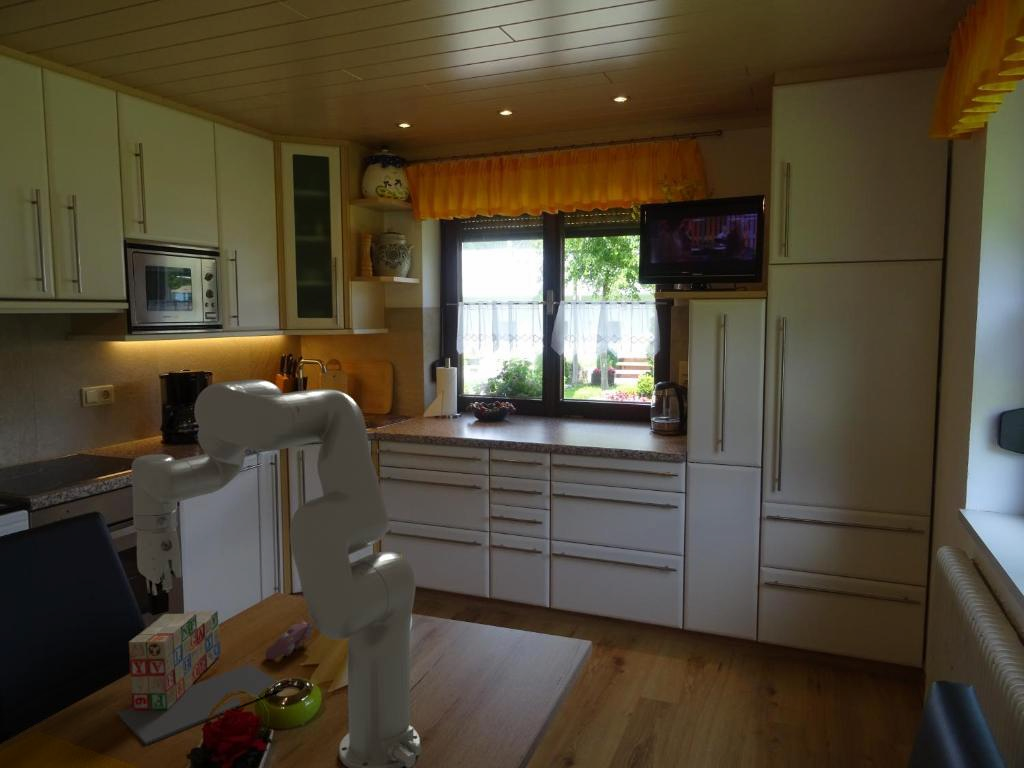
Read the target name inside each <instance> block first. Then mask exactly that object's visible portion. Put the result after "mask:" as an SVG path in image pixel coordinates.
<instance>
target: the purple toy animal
mask: <svg viewBox="0 0 1024 768" xmlns="http://www.w3.org/2000/svg"><path fill="white" fill-rule="evenodd" d="M314 629H315V625H312V624H311V623H310V622H305V620H303V621H302V622H300V623H294V624H293V625H290V626H289V628H288V629H287V630H286V631H285V632H284V633H282V635H281V636H280V637H279V638H278V639H277V640H276V641H275V642H274V643H272V644H271V645H270V646H269V647H268V648H267V649H266V650H265V652H264V655H265V658H266V659H267V660H276V659H278V658H279V657H281V656H283V655H284V656H285V657H289V656H290V655H291V654H292V653H293V652H294V650H299V649H300V648H302V647H303V645H304V642H306V640H307V639H308V638H309V637H310V636H311V635H312V633H313V631H314ZM299 647H300V648H299ZM298 648H299V649H298ZM289 654H290V655H289ZM288 655H289V656H288Z"/></svg>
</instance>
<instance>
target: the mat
mask: <svg viewBox="0 0 1024 768" xmlns="http://www.w3.org/2000/svg"><path fill="white" fill-rule="evenodd" d="M275 683H278V682H277V681H276V680H275V679H273V678H272V677H270V676H269V675H267V674H266V673H264V672H263V671H261V669H258V668H257V667H256V666H255V665H253V664H252V663H249V664H247V665H244V666H241V667H238V668H236V669H233V670H230V671H228V672H225V673H222V674H219V675H217V676H214V677H213V676H212V677H211V678H208V679H205V680H203V681H200V682H198V683H195V684H194V683H193V684H192V685H191V686H190V687H189V688H188V689H187V690H186V691H185V692H184V693H183V695H182V696H181V697H180V698H179V699H178V700H176V701H175V702H174V703H173V704H172V705H171V707H170V708H169V709H167V710H151V709H150V710H133V706H131V707H129V708H127V709H124V710H122V711H118V712H117V716H118V717H119V718H120V719H121V720H122V721H123V722H124V723H125V724H126V726H127V727H128V728H129V729H130V730H131V731H132V732H133V733H134V734H135V735H136V736H137V737H138V738H139V740H140V741H141V742H142V743H143V744H144V743H145V744H144V745H145V746H147V745H150V744H153V743H155V742H157V741H159V740H162V739H165V738H167V737H170V736H173V735H175V734H177V733H179V732H182V731H185V730H186V729H189V728H192V727H194V726H197V725H199V724H202V723H204V722H207V721H208V720H207V719H208V717H209V715H210V712H211V711H212V709H213V708H214V707H215V706H216V705H217V704H218V702H219V701H220V700H221V699H222V698H223V697H224V696H225V695H226V694H228V693H230V692H234V691H239V690H242V691H247V692H249V693H252V694H254V695H260V694H261V692H262V691H264V690H265V689H267V688H268V687H270V686H272V685H273V684H275ZM234 697H235V698H232V699H231V701H229V703H228V702H227V704H225V705H223V707H220V709H219V710H216V711H215V713H214V714H213V716H215V715H217V714H221V713H222V712H224V711H225V710H228V709H234V710H236V709H237V708H236V707H238V706H239V705H240V704H242V703H240V702H239V700H238V701H237V699H238V698H239V699H240V697H241V696H238V697H237V696H234ZM236 698H237V699H236ZM235 700H236V701H235ZM224 709H225V710H224ZM206 720H207V721H206ZM152 742H153V743H152ZM149 743H150V744H149Z"/></svg>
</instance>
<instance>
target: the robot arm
mask: <svg viewBox="0 0 1024 768" xmlns="http://www.w3.org/2000/svg"><path fill="white" fill-rule="evenodd" d="M193 411H194V412H193V413H194V418H195V422H196V424H197V425H198V430H197V441H198V443H199V446H200V447H201V449H202V450H203V452H204V453H205V454H199V455H195V456H188V457H184V458H180V459H175V458H174V457H173V456H171V455H168V454H163V453H161V454H160V453H159V454H157V453H156V454H155V453H154V454H147V455H146V454H145V455H141V456H139V457H137V458H134V460H133V461H132V462H131V484H132V485H131V487H132V510H133V511H132V512H133V514H132V515H133V517H132V518H133V530H134V532H136V534H137V535H136V566H137V569H138V572H139V574H141V575H142V576H144V577H145V578H146V590H147V601H148V602H147V607H148V608H147V609H148V613H149V614H150V615H151V616H157V615H161V614H166V613H167V612H169V611H170V603H169V602H170V601H169V600H170V597H169V592H170V589H173V582H172V577H174V578H175V579H180V578H181V577H182V562H181V560H182V559H181V549H180V542H179V540H180V539H179V536H178V531H177V527H178V525H179V524H178V523H179V522H178V520H179V518H178V502H181V501H185V500H188V499H193V498H196V497H199V496H205V495H208V494H213V493H215V492H217V491H220V490H221V489H222V488H225V486H227V485H228V484H229V483H230V482H232V481H233V480H234V478H236V477H237V476H238V475H239V474H240V473H241V472H242V470H243V467H244V465H245V464H244V463H245V457H246V456H245V455H246V454H245V453H246V452H245V451H246V450H248V449H251V450H254V451H261V452H275V451H281V450H284V449H288V448H289V449H290V448H293V447H299V446H302V445H307V444H312V443H316V442H319V443H321V445H320V447H319V450H318V455H317V462H316V463H317V464H316V465H317V466H316V468H317V474H318V478H319V481H320V485H321V489H322V496H319V497H315V498H313V499H310V500H308V501H307V502H305V503H303V504H301V506H299V507H298V508H297V509H296V511H295V512H294V514H293V516H292V519H291V521H290V528H289V542H290V548H291V551H292V552H291V553H292V556H293V559H294V560H293V561H294V564H295V567H296V572H297V575H298V578H299V581H300V586H301V589H302V593H303V597H304V600H305V601H304V602H305V605H306V607H307V610H308V614H309V616H310V619H311V620H312V622H313V626H314V627H315V628H316V629H317V630H318V631H319V633H320V634H322V635H323V636H324V637H326V638H328V639H330V640H336V641H337V640H338V641H339V640H344V639H347V681H348V682H347V686H348V687H347V691H348V693H347V694H348V695H347V696H348V700H347V701H348V733H346V735H345V736H344V737H343V738H342V740H341V741H340V742H339V747H338V755H339V759H340V762H341V763H342V764H343V765H344V766H345V767H347V768H403V767H406V768H411V767H412V766H414V764H415V762H416V759H417V756H419V755H420V754H421V753H422V752H423V746H422V745H421V739H420V735H419V733H418V732H417V731H416V729H414V727H413V726H411V679H410V678H411V671H410V670H411V669H410V668H411V666H410V665H411V661H410V659H411V657H410V656H411V655H410V654H411V647H410V646H411V645H410V643H411V639H410V638H411V632H410V631H411V621H412V612H413V608H414V602H415V595H416V578H415V573H414V570H413V568H412V566H411V564H410V562H409V561H408V560H407V559H406V558H405V557H404V556H402V555H401V554H399V553H397V552H393V551H380V552H379V551H378V552H374V553H371V554H369V555H366V556H364V557H362V558H359V559H358V560H357V559H356V560H355V561H352V562H350V555H351V554H355V553H356V552H359V551H362V550H363V549H365V548H368V547H370V546H372V545H374V544H376V543H377V542H379V541H381V540H382V539H383V538H384V537H385V535H386V534H387V532H388V529H389V517H388V515H389V514H388V512H387V506H386V504H385V500H384V497H383V492H382V490H381V485H380V483H379V479H378V475H377V471H376V468H375V465H374V462H373V459H372V455H371V451H370V446H369V438H368V431H367V426H366V422H365V417H364V414H363V412H362V409H361V408H360V406H359V405H358V403H357V401H356V400H354V398H352V397H351V396H350V395H348V394H347V393H345V392H342V391H340V390H336V389H335V390H334V389H326V388H324V389H323V388H322V389H321V388H320V389H307V390H306V389H305V390H299V391H292V392H287V393H285V392H284V393H283V392H282V391H281V389H280V388H279V387H278V386H277V385H276V384H274V383H272V382H270V381H268V380H264V379H246V380H243V379H242V380H234V381H233V380H232V381H225V382H224V381H222V382H217V383H213V384H210V385H209V386H207V387H205V388H204V389H203V390H202V391H201V392H200V393H199V395H198V396H197V398H196V400H195V404H194V410H193Z"/></svg>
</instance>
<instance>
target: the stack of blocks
mask: <svg viewBox="0 0 1024 768" xmlns="http://www.w3.org/2000/svg"><path fill="white" fill-rule="evenodd" d="M128 648H129V649H128V650H129V651H128V653H129V673H130V674H129V675H130V681H131V700H132V701H131V702H132V707H133V710H150V709H151V710H167V709H169V708H170V707H171V705H172V704H173V703H174V702H175V701H176V700H178V699H179V698H180V697H181V696H182V695H183V693H184V692H185V691H186V690H187V689H188V688H189V687H190V686H192V685H194V682H196V680H197V679H198V678H200V676H201V675H202V674H203V673H204V671H206V670H207V669H208V668H209V667H210V666H211V665H212V664H213V663H214V662H215V661H216V660H217V659H218V658H219V657H220V655H221V641H220V625H219V616H218V610H186V612H185V613H163V615H161V616H160V617H158V619H157V620H156V621H154V622H153V623H151V624H150V625H149V626H148V627H146V628H145V629H144V630H143V631H141V632H140V633H139V634H138V635H136V636H135V637H133V638H132V639H131V640H129V641H128Z"/></svg>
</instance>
